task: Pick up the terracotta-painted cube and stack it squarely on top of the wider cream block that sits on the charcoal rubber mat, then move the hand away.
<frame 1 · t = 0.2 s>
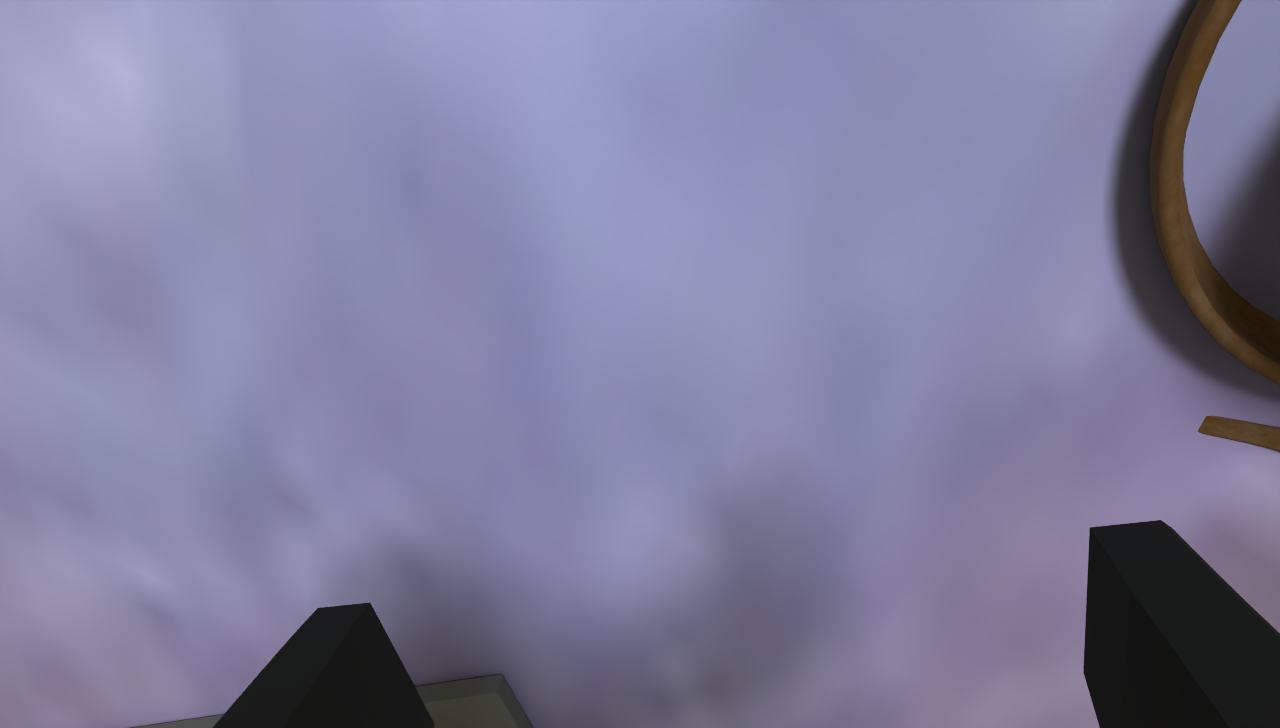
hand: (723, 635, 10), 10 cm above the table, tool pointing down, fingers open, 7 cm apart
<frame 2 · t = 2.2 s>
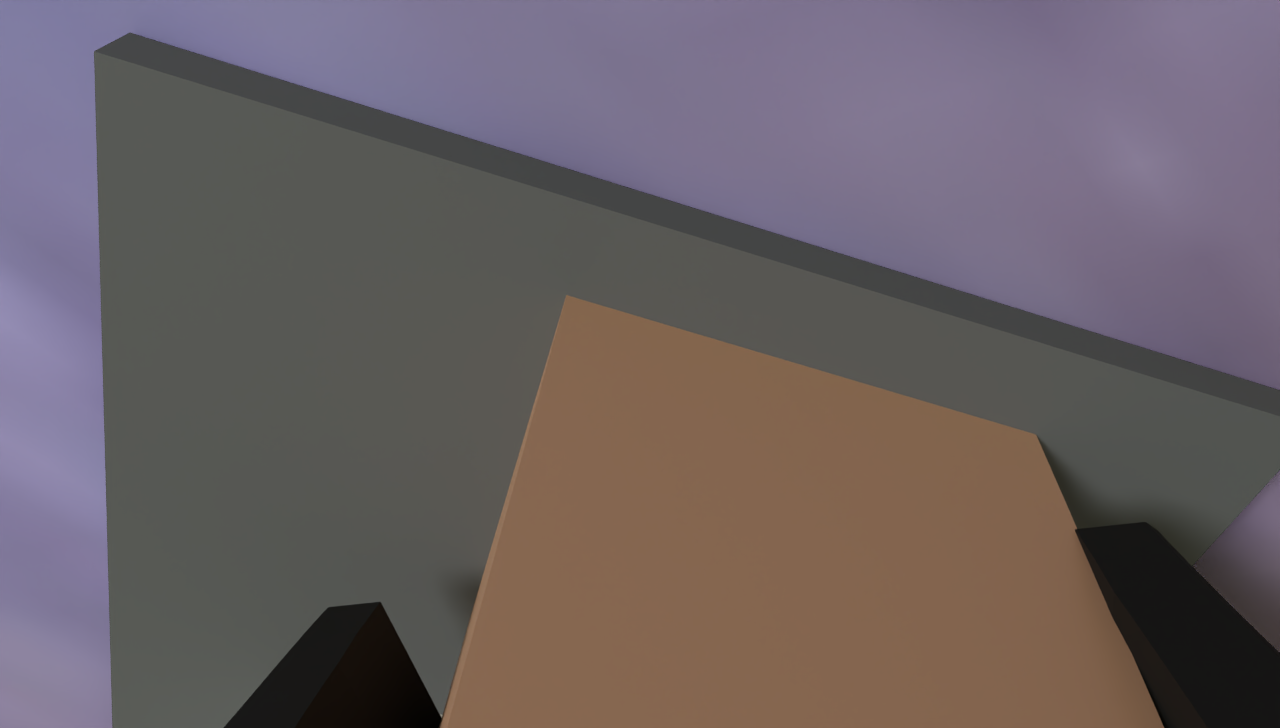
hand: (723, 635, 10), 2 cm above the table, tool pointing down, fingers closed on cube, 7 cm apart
cube: (723, 537, 11), point 1 cm above the table, touching gripper, mat
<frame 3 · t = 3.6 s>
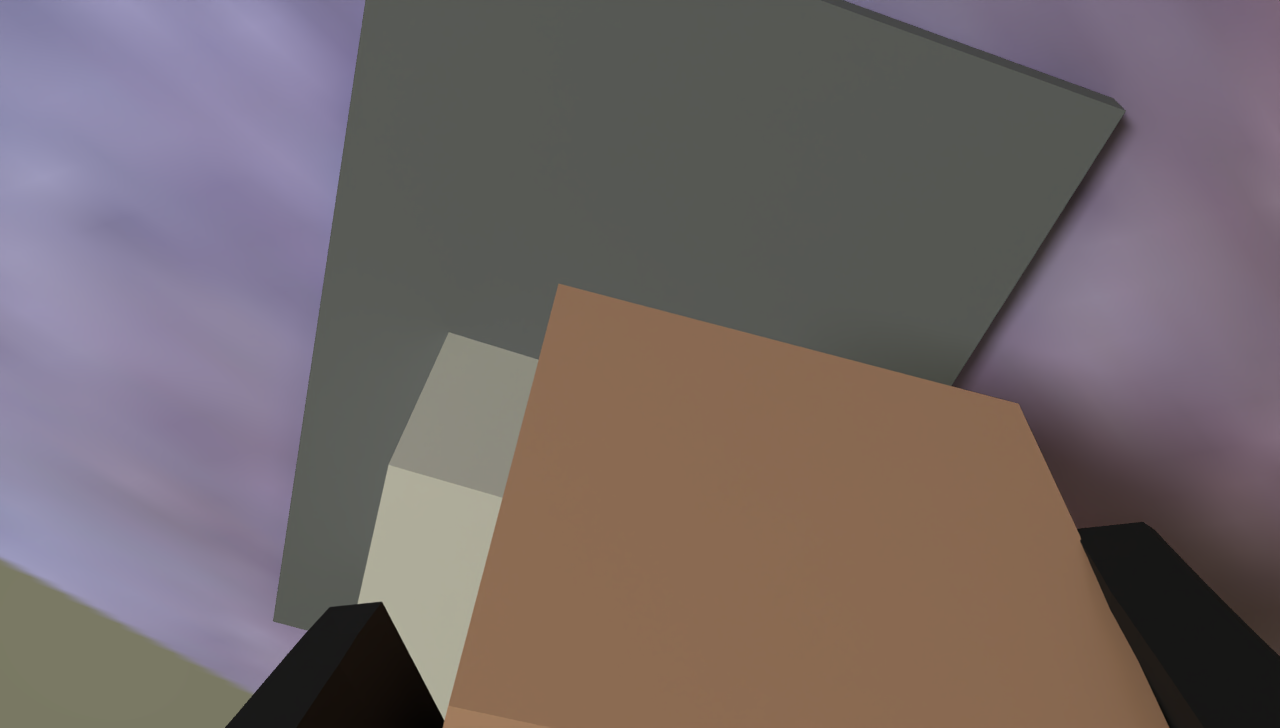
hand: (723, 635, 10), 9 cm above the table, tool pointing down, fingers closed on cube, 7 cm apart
mat: (608, 404, 20), on the table
base block: (573, 507, 21), point 1 cm above the table, touching mat
cube: (720, 517, 11), point 8 cm above the table, touching gripper
when the fingers open (7 cm above the table, at t = 5.1 s): cube stays where it is, resting on base block.
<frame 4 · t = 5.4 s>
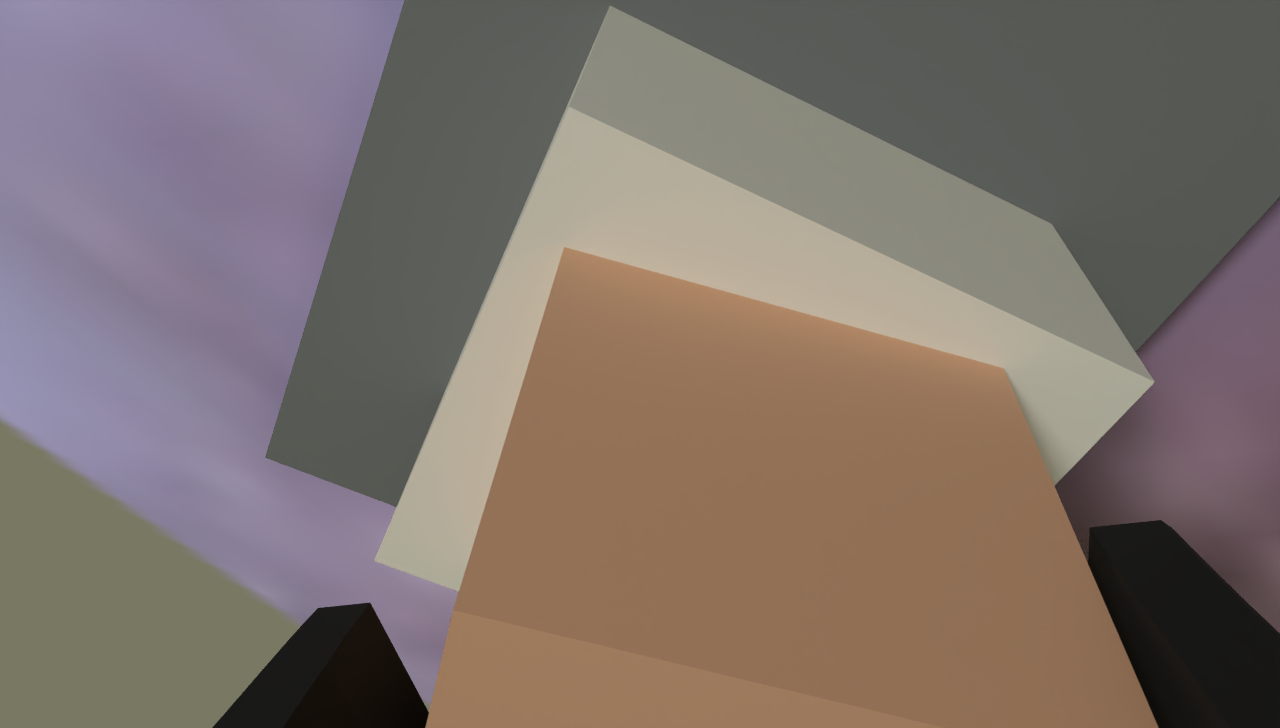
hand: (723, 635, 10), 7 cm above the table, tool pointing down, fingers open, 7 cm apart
mat: (801, 164, 14), on the table
base block: (723, 313, 15), point 1 cm above the table, touching cube, mat
cube: (717, 476, 12), point 5 cm above the table, touching base block
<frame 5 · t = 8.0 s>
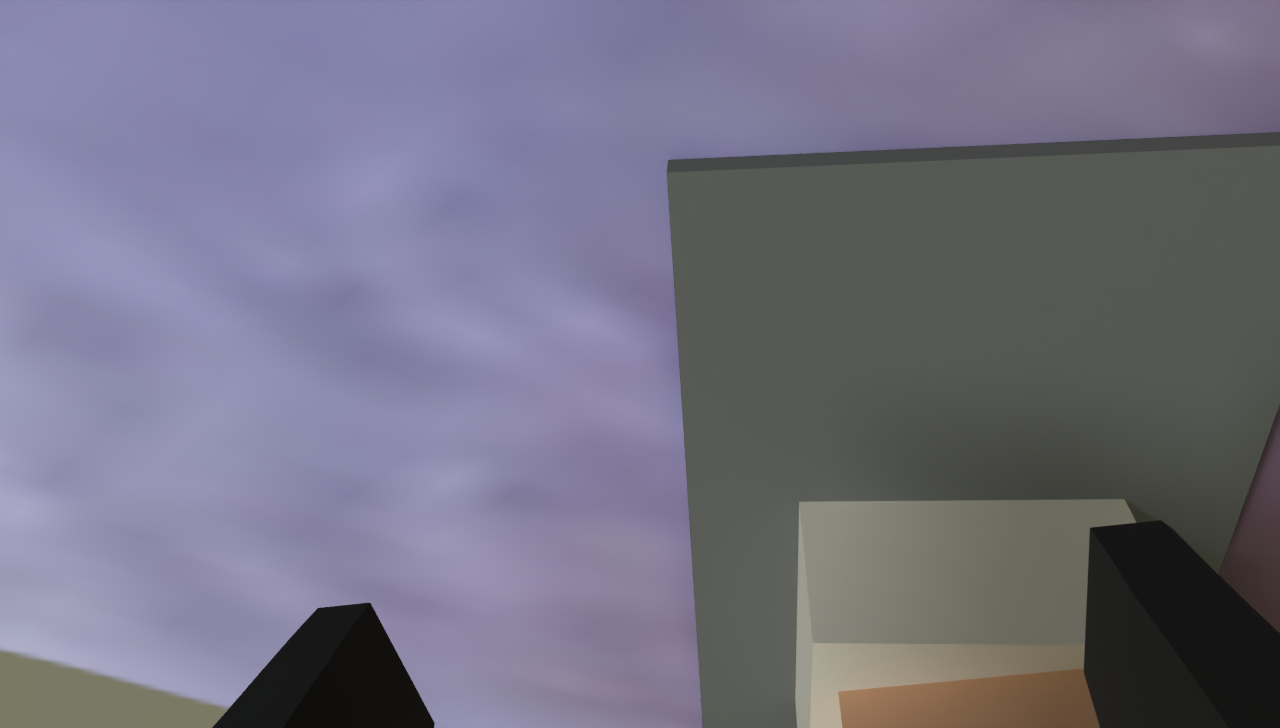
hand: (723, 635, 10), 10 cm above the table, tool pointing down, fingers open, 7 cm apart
mat: (949, 515, 22), on the table
base block: (943, 609, 23), point 1 cm above the table, touching cube, mat
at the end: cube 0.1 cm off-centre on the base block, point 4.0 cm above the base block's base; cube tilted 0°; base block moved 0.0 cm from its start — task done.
